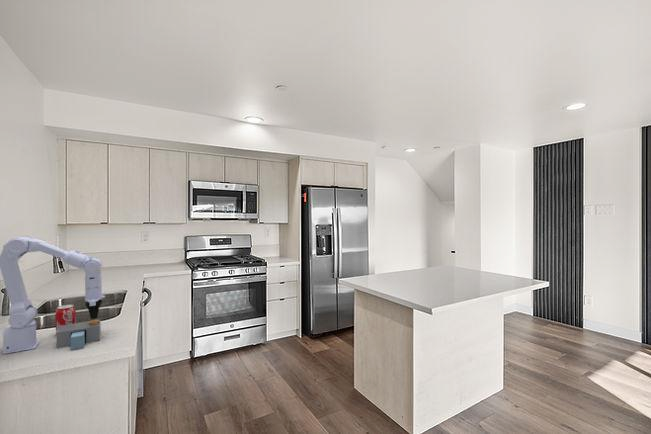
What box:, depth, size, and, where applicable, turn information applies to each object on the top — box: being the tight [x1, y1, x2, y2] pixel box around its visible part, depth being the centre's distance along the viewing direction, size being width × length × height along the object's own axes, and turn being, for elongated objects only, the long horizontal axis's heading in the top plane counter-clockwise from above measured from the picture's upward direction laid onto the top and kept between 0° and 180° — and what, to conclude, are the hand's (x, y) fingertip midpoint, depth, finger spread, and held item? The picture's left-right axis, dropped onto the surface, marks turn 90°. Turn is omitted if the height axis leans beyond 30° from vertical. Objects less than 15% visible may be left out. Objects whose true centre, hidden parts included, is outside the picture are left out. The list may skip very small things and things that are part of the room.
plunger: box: [89, 318, 100, 325], centre depth 141 cm, size 3×3×5 cm
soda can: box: [54, 303, 77, 333], centre depth 145 cm, size 7×7×12 cm
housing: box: [55, 319, 102, 349], centre depth 138 cm, size 14×9×6 cm, turn 122°
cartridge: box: [70, 330, 86, 351], centre depth 135 cm, size 4×13×5 cm, turn 32°
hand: (94, 318), depth 141 cm, fingers closed
